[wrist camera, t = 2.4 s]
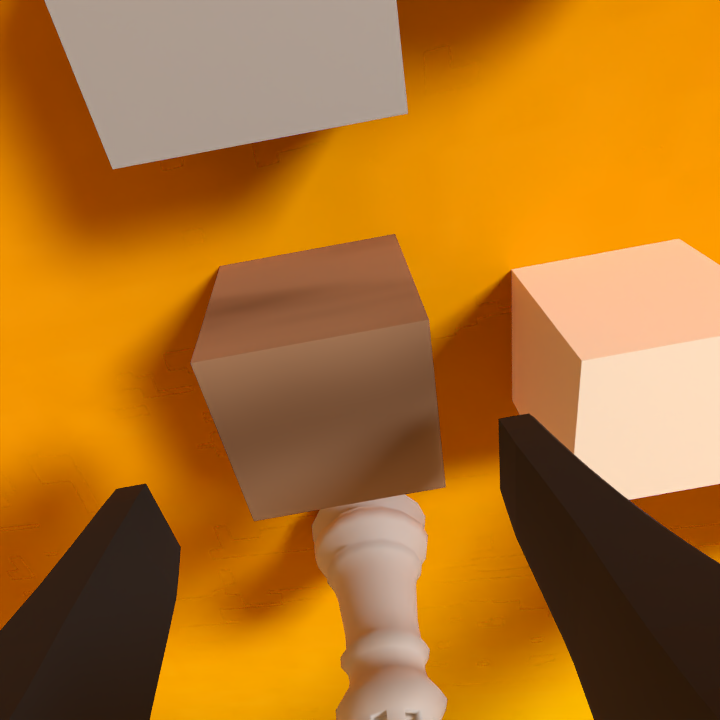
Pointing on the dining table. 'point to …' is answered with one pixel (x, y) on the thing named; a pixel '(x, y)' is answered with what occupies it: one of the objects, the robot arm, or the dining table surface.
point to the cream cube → (624, 363)
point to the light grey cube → (228, 70)
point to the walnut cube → (322, 378)
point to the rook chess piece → (379, 607)
